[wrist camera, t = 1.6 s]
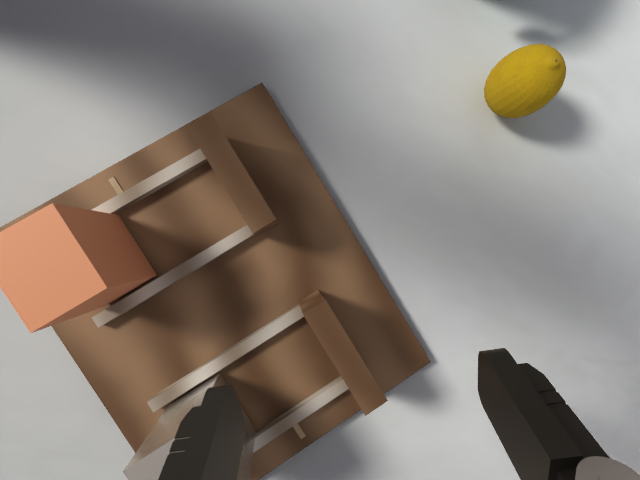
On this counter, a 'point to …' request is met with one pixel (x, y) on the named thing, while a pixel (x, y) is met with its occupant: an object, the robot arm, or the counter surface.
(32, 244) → the terracotta slider
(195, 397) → the steel slider
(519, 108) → the lemon
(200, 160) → the board
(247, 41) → the counter surface
